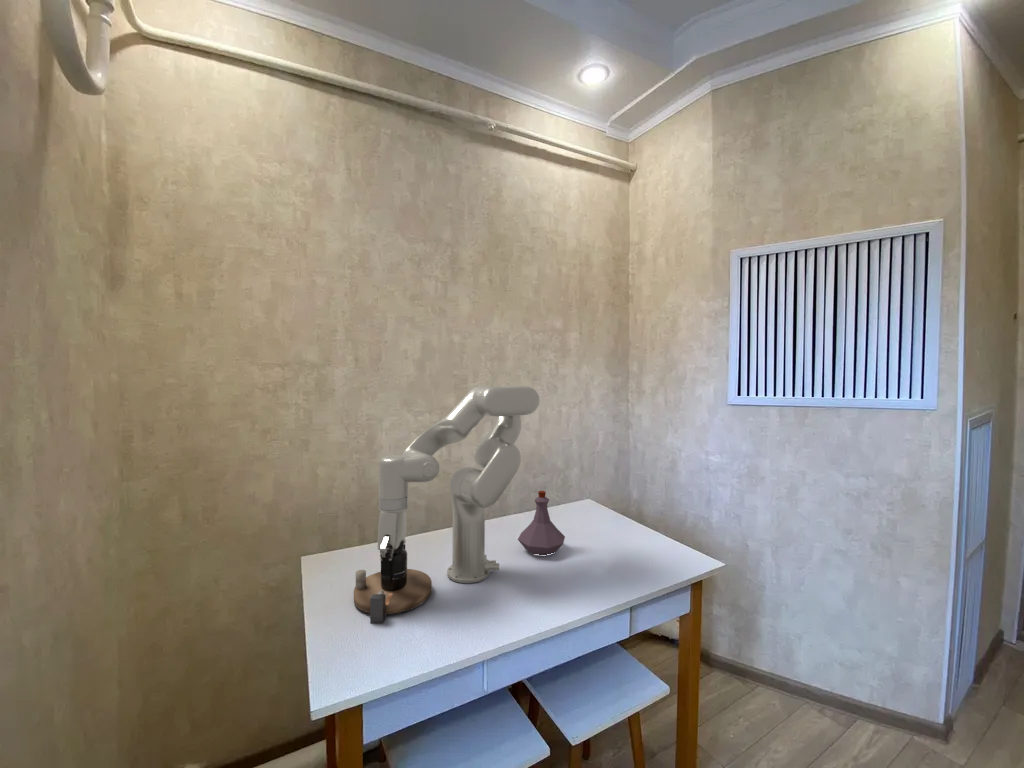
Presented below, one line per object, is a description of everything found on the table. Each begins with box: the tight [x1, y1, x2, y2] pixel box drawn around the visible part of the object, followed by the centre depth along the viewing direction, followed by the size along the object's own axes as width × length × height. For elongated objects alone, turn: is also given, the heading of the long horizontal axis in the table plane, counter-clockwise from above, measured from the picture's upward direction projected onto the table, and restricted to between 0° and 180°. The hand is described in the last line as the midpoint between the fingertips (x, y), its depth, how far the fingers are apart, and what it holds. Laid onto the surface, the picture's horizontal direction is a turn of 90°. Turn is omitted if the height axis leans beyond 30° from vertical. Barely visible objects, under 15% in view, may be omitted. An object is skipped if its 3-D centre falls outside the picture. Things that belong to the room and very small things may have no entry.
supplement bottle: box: [381, 540, 408, 591], centre depth 114 cm, size 7×7×12 cm
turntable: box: [353, 568, 433, 615], centre depth 114 cm, size 20×20×6 cm
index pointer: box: [369, 591, 387, 625], centre depth 103 cm, size 3×4×6 cm
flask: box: [517, 490, 566, 555], centre depth 144 cm, size 16×16×20 cm
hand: (393, 566), depth 114 cm, fingers open, 9 cm apart
